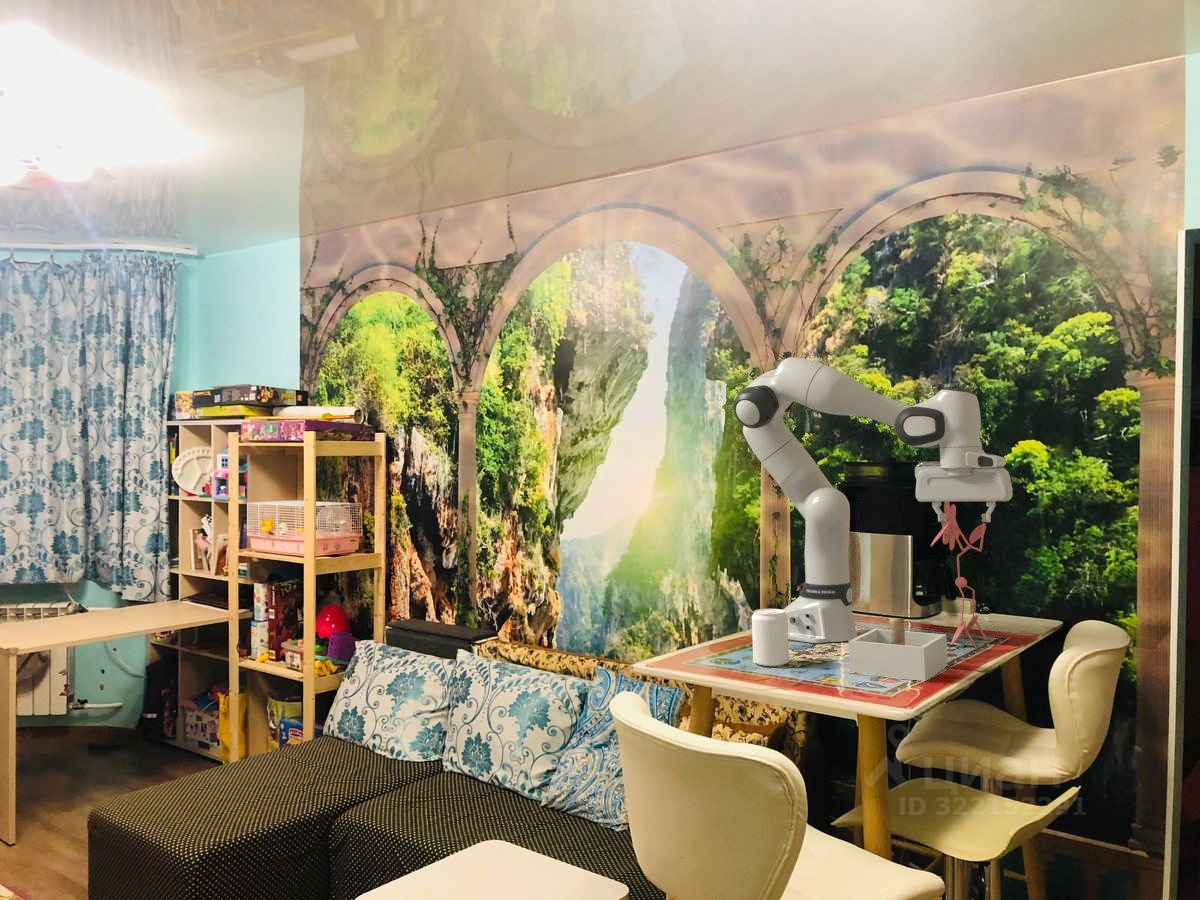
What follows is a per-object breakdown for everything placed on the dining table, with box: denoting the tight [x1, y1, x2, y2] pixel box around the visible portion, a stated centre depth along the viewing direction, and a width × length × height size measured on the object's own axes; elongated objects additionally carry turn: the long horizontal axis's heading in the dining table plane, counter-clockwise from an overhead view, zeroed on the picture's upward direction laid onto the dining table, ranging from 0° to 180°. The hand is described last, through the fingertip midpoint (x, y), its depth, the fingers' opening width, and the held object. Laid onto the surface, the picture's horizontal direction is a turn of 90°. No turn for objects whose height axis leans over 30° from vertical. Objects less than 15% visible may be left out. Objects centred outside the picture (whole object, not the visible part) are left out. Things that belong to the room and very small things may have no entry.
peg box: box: [848, 628, 948, 682], centre depth 197 cm, size 16×16×7 cm
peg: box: [889, 617, 906, 645], centre depth 197 cm, size 3×3×10 cm
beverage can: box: [751, 608, 790, 667], centre depth 207 cm, size 8×8×12 cm
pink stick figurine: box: [930, 502, 997, 648], centre depth 225 cm, size 15×26×35 cm, turn 141°
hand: (964, 522), depth 203 cm, fingers open, 8 cm apart
